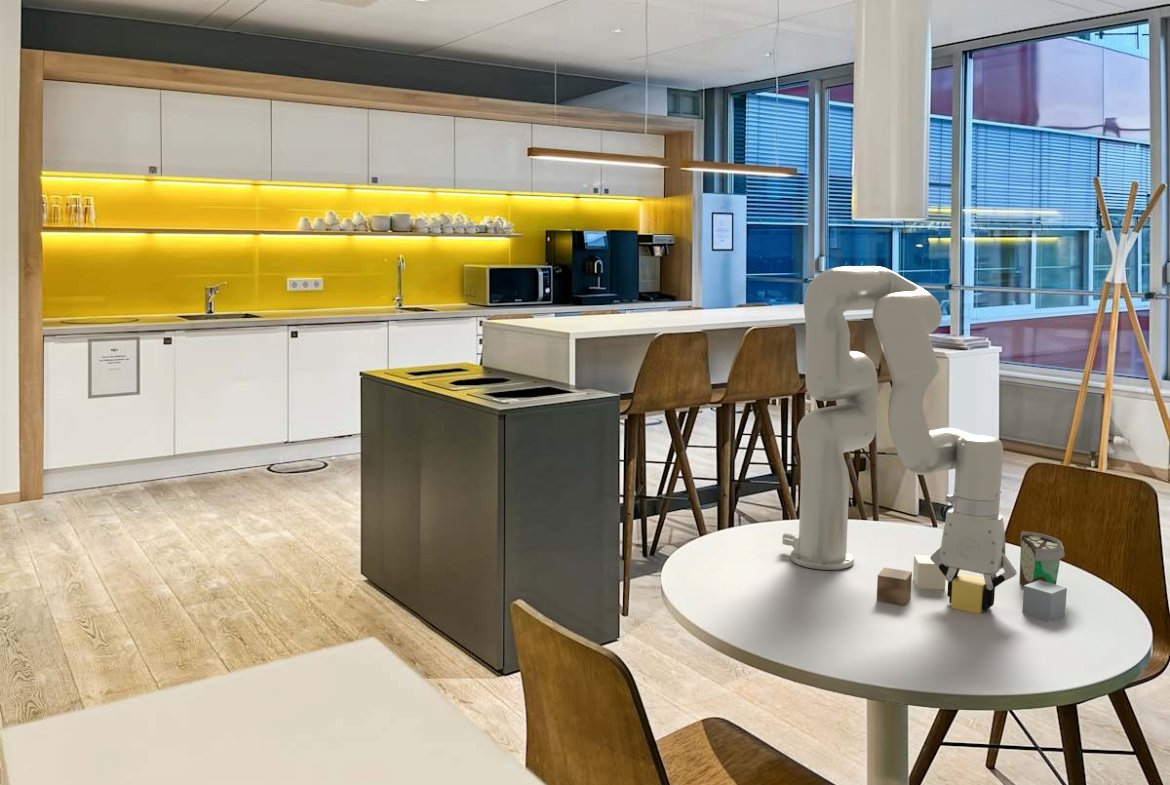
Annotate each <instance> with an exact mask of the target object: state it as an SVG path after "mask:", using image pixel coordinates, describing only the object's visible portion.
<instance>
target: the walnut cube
mask: <svg viewBox="0 0 1170 785" xmlns="http://www.w3.org/2000/svg"><path fill="white" fill-rule="evenodd" d="M912 581H913V571H909V570H902V569H896V568H890V567H883V568H882V569H881V571H880V572H879V573H878V574H877V582H876V583H877V585H876V602H879V603H883V604H884V603H885V604H890V605H895V606H902V607H906V605H907V604H908V603H909V601H910V599H911V597H912Z"/></svg>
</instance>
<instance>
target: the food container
mask: <svg viewBox="0 0 1170 785" xmlns="http://www.w3.org/2000/svg"><path fill="white" fill-rule="evenodd" d="M1065 556H1066V555H1065V548H1064V545H1063V542H1062V540H1060V539H1058V538H1056V537H1055V536H1054V537H1053V536H1050V535H1047V534H1043V533H1038V532H1033V531H1021V533H1020V558H1019V579H1018V582H1019V583H1018V584H1019V585H1020V587H1021V588H1022V589H1023V590H1024V585H1027V584H1030V583H1032V582H1035V581H1038V580H1042V581H1045V582H1049V583H1052V584H1056V585H1057V580H1058V576H1059V575H1058V574H1059V568H1060V562H1061V559H1063V558H1064V557H1065Z"/></svg>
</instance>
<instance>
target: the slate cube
mask: <svg viewBox="0 0 1170 785" xmlns="http://www.w3.org/2000/svg"><path fill="white" fill-rule="evenodd" d="M1067 590H1068V588H1067V587H1065V586H1063V585H1059V584H1057V583H1056V584H1052V583H1049V582H1045V581H1042V580H1038V581H1035V582H1032V583H1030V584H1027V585H1024V589H1023V594H1022V596H1023V597H1022V608H1021V612H1022V613H1024V614H1026V615H1029V616H1032V617H1036V618H1038V619H1040V620H1046V621H1048V622H1051V621H1054V620H1056V619H1058V618H1060V617H1063V616H1065V614H1066V605H1067V593H1068V592H1067Z"/></svg>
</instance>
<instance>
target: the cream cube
mask: <svg viewBox="0 0 1170 785" xmlns="http://www.w3.org/2000/svg"><path fill="white" fill-rule="evenodd" d="M913 556H914V557H913V568H912V569H913V571H912V581H913V583H914V584H915V587H916V588H917V589H921V590H923V589H924V590H939V591H940V590H942V591H945V590H946V581H947V580H946V577H945V575H944V574H943V573H942V572H941V570H940V569H939V567H938V566H937V565H936V564H935V563H934V562H933V561H932V560H931V559H930V557H931V556H932V555H923V554H922V555H921V554H914V555H913Z"/></svg>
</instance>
